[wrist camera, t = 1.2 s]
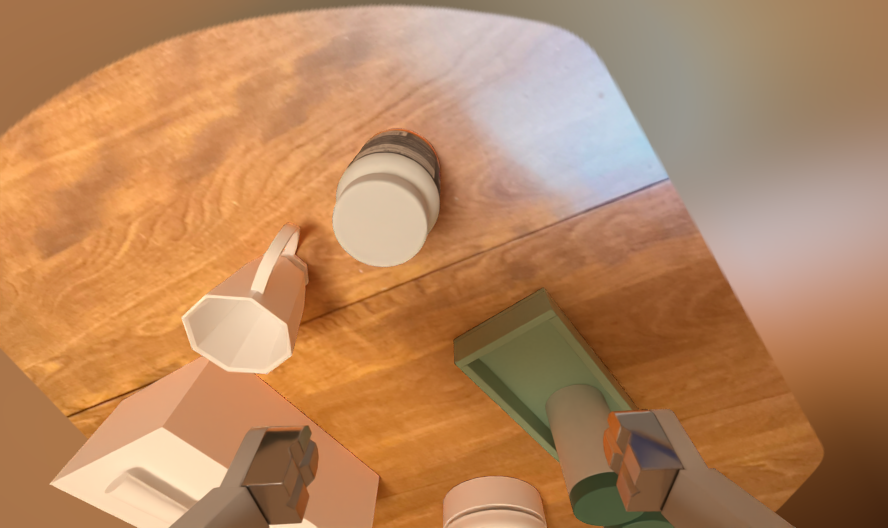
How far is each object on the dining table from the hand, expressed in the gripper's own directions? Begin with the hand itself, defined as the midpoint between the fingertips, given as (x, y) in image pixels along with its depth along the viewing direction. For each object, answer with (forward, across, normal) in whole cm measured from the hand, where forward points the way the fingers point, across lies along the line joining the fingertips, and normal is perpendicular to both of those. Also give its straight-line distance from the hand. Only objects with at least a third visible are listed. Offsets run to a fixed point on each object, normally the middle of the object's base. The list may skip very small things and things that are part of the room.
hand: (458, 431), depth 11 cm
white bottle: (+20, -12, +24) cm, 33 cm away
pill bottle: (+20, +3, -2) cm, 21 cm away
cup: (+20, +13, +5) cm, 25 cm away
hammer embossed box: (+20, +23, +29) cm, 42 cm away
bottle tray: (+20, -11, +23) cm, 32 cm away
